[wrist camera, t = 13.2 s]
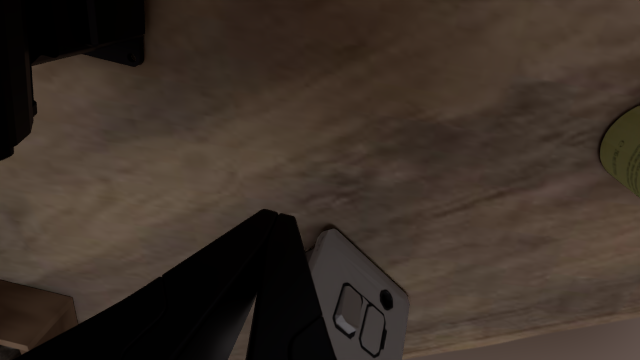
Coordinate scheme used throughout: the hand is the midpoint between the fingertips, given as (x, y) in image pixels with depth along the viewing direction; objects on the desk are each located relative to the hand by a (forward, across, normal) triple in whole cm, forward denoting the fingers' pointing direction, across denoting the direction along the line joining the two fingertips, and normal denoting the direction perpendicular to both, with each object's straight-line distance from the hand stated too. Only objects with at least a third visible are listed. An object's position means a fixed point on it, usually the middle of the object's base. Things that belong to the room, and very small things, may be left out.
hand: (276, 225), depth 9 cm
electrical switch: (+13, -5, +14) cm, 20 cm away
